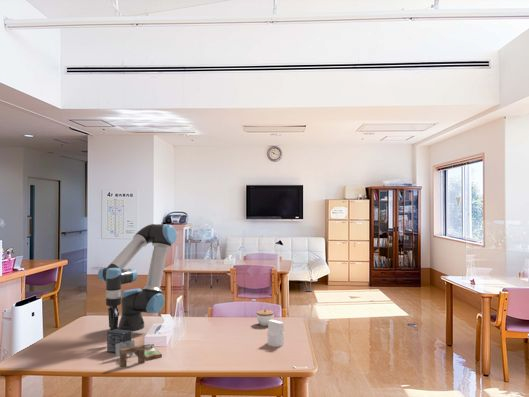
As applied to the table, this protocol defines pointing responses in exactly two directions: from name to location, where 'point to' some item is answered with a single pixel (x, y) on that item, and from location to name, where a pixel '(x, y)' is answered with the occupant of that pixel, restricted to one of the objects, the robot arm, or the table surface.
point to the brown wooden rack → (126, 346)
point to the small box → (117, 338)
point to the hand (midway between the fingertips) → (113, 341)
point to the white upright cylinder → (275, 333)
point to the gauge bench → (139, 354)
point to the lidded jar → (264, 316)
